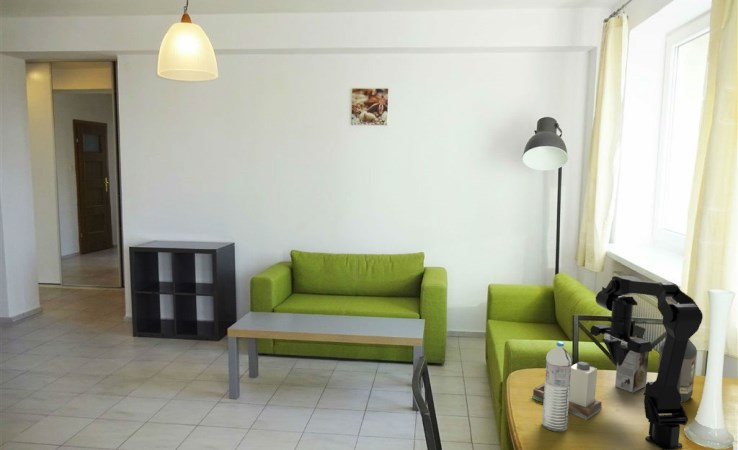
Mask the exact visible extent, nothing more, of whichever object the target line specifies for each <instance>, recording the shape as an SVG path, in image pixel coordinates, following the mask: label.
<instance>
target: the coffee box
mask: <svg viewBox="0 0 738 450" xmlns="http://www.w3.org/2000/svg"><path fill="white" fill-rule="evenodd" d="M630 338H631V339H638V338H639V337H638V336H635V337H630ZM648 341H649V342H651V341H650V340H648ZM620 345H621V344H620ZM649 354H650V352H643V353H636V352H633V351H631V350H630V351H629V353H628V354H627V356H626V358H625V359H624V361H623V363H622V365H620V366H619V365H618V363H616V371H615V372H616V373H615V384H614V386H615V387H616V388H619V389H622V390H623V391H624V390H625V391H628V392H629V393H635V392H637V391H638V390H641V389H642V388H646V384H647V379H648V377H647V376H648V366H649Z"/></svg>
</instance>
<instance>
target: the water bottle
mask: <svg viewBox="0 0 738 450" xmlns="http://www.w3.org/2000/svg"><path fill="white" fill-rule="evenodd" d="M564 345H565V343H564V342H563V341H560V340H559V341H556V346H554V347H553V348H552V349H551V350H549V351H548V352H547V354H546V358H545V359H546V364H545V365H546V366H545V367H546V368H545V380H544V383H545V387H544V402H542V405H543V407H542V420H541V421H542V426H543V427H544V428H545V429H546V430H548V431H552V432H557V433H558V432H559V433H562V432H565V431H566V430H567V428H568V421H569V412H568V411H569V397H570V377H571V366H572V365H573V357H572V355H571V354H570V352H569V351H568V350H567V349H565V348H564V347H565V346H564Z"/></svg>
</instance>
